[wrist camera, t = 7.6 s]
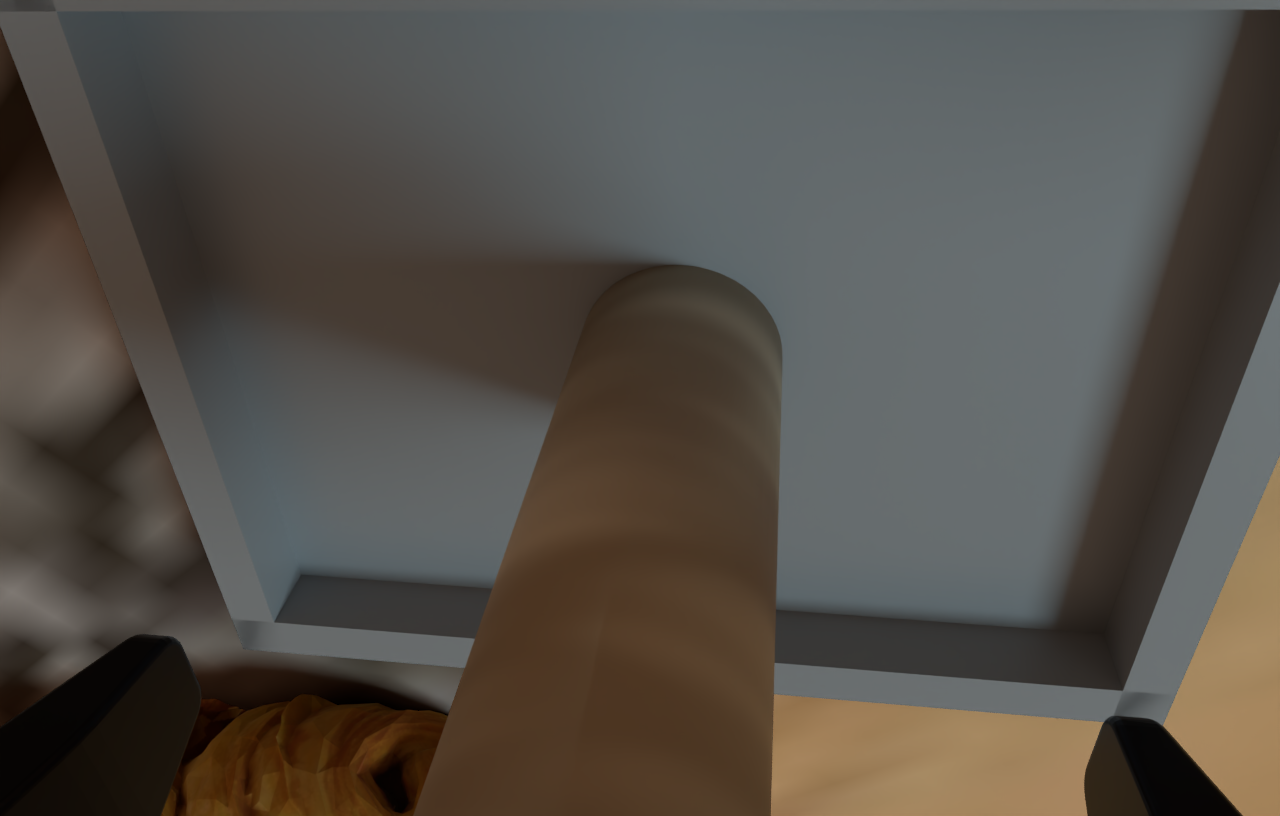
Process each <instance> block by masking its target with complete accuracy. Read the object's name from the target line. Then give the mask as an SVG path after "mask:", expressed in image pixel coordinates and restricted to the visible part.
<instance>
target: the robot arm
mask: <svg viewBox="0 0 1280 816" xmlns="http://www.w3.org/2000/svg"><path fill="white" fill-rule="evenodd" d="M200 705H201V689H200V685H199V683H198V681H197V678H196V676H195V674H194V672H193V669H192V667H191V665H190V663H189V660H188V658H187V656H186V654H185V652H184V649H183V647H182V645H181V644H180V642H179V641H178V640H177V639H175V638H174V637H170V636H159V635H148V634H140V635H135V636H133V637H130V638H128V639H127V640H125V641H124V642H122V643H121V644H119V645H118V646H116V647H115V648H114V649H112V650H111V651H109V652H108V653H106V654H105V655H103V656H102V657H101V658H99V659H98V660H96V661H95V662H93V663H92V664H90V665H89V666H88V667H86V668H85V669H83V670H82V671H80V672H79V673H78V674H76V675H75V676H73V677H72V678H70V679H69V680H67V681H66V682H65V683H63V684H62V685H60V686H59V687H57V688H56V689H54V690H53V691H52V692H50V693H49V694H47V695H46V696H44V697H43V698H41V699H40V700H39V701H37V702H36V703H34V704H33V705H31V706H30V707H29V708H27V709H26V710H24V711H23V712H21V713H20V714H18V715H17V716H16V717H14V718H13V719H11V720H10V721H8V722H7V723H5V724H4V725H3V726H1V727H0V816H161V815H162V812H163V809H164V807H165V804H166V801H167V798H168V796H169V793H170V790H171V787H172V785H173V782H174V779H175V777H176V774H177V771H178V768H179V766H180V763H181V760H182V757H183V755H184V752H185V749H186V746H187V744H188V741H189V738H190V736H191V733H192V730H193V727H194V725H195V722H196V719H197V716H198V713H199V710H200ZM1084 790H1085V800H1086V807H1087V814H1088V816H1243V815H1242V814H1241V813H1240V812H1239V811H1238V810H1237V809H1236V808H1235V806H1234V805H1233V804H1232V803H1231V802H1230V801H1229V800H1228V799H1227V797H1226V796H1225V795H1224V794H1223V793H1222V792H1221V791H1220V790H1219V788H1218V787H1217V786H1216V785H1215V784H1214V783H1213V782H1212V780H1211V779H1210V778H1209V777H1208V776H1207V775H1206V774H1205V773H1204V771H1203V770H1202V769H1201V768H1200V767H1199V766H1198V765H1197V764H1196V762H1195V761H1194V760H1193V759H1192V758H1191V757H1190V756H1189V755H1188V753H1187V752H1186V751H1185V750H1184V749H1183V748H1182V747H1181V746H1180V744H1179V743H1178V742H1177V741H1176V740H1175V739H1174V738H1173V737H1172V735H1171V734H1170V733H1169V732H1168V731H1167V730H1166V729H1165V728H1164V727H1163V726H1162V725H1161V724H1160V723H1158V722H1157V721H1155V720H1152V719H1148V718H1139V717H1127V716H1110V717H1109V718H1107V719H1106V720H1105V721H1104V723H1103V725H1102V727H1101V730H1100V733H1099V735H1098V738H1097V741H1096V743H1095V746H1094V749H1093V751H1092V754H1091V757H1090V759H1089V762H1088V765H1087V768H1086V772H1085V780H1084Z"/></svg>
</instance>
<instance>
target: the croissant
mask: <svg viewBox="0 0 1280 816" xmlns="http://www.w3.org/2000/svg"><path fill="white" fill-rule="evenodd" d="M238 708H239V707H235V706H232V705H228V704H225V703H223V702H221V701H220V700H218V699H201V705H200V710H199V713H198V716H197V719H196V722H195V725H194V727H193V730H192V733H191V736H190V738H189V741H188V744H187V746H186V749H185V752H184V755H183V757H182V760H181V763H180V766H179V768H178V771H177V774H176V777H175V779H174V782H173V785H172V787H171V790H170V793H169V796H168V798H167V801H166V804H165V807H164V809H163V812H162V815H161V816H413V815H414V812H415V809H416V806H417V804H418V801H419V798H420V795H421V792H422V789H423V786H424V783H425V781H426V778H427V775H428V772H429V769H430V766H431V763H432V761H433V758H434V755H435V752H436V749H437V746H438V743H439V740H440V738H441V735H442V732H443V729H444V726H445V723H446V720H447V717H448V716H446V715H444V714H441V713H438V712H434V711H430V710H425V711H414V710H394V709H392V708H389V707H387V706H384V705H381V704H379V703H367V704H346V705H336V704H334V703H332V702H329V701H327V700H325V699H323V698H321V697H319V696H317V695H312V694H311V695H306V694H301V695H299V696H297V697H295V698H294V699H293V700H292V701H291V702H289V701H285V702H279V703H274V704H268V705H263V706H260V707H257V708H254V709H251V710H248V711H246V710H244V709H238Z"/></svg>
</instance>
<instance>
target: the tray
mask: <svg viewBox="0 0 1280 816" xmlns="http://www.w3.org/2000/svg"><path fill="white" fill-rule="evenodd" d="M0 27H1V29H2V32H3V35H4V37H5V40H6V42H7V45H8V47H9V50H10V53H11V55H12V58H13V60H14V63H15V65H16V68H17V70H18V73H19V76H20V78H21V81H22V83H23V86H24V88H25V91H26V93H27V96H28V99H29V101H30V104H31V106H32V109H33V111H34V114H35V116H36V119H37V122H38V124H39V127H40V129H41V132H42V134H43V137H44V140H45V142H46V145H47V147H48V150H49V152H50V155H51V157H52V160H53V163H54V165H55V168H56V170H57V173H58V175H59V178H60V180H61V183H62V186H63V188H64V191H65V193H66V196H67V198H68V201H69V203H70V206H71V209H72V211H73V214H74V216H75V219H76V221H77V224H78V227H79V229H80V232H81V234H82V237H83V239H84V242H85V244H86V247H87V250H88V252H89V255H90V257H91V260H92V262H93V265H94V267H95V270H96V273H97V275H98V278H99V280H100V283H101V285H102V288H103V291H104V293H105V296H106V298H107V301H108V303H109V306H110V308H111V311H112V314H113V316H114V319H115V321H116V324H117V326H118V329H119V331H120V334H121V337H122V339H123V342H124V344H125V347H126V349H127V352H128V354H129V357H130V360H131V362H132V365H133V367H134V370H135V372H136V375H137V378H138V380H139V383H140V385H141V388H142V390H143V393H144V395H145V398H146V401H147V403H148V406H149V408H150V411H151V413H152V416H153V418H154V421H155V424H156V426H157V429H158V431H159V434H160V436H161V439H162V441H163V444H164V447H165V449H166V452H167V454H168V457H169V459H170V462H171V465H172V467H173V470H174V472H175V475H176V477H177V480H178V482H179V485H180V488H181V490H182V493H183V495H184V498H185V500H186V503H187V505H188V508H189V511H190V513H191V516H192V518H193V521H194V523H195V526H196V529H197V531H198V534H199V536H200V539H201V541H202V544H203V546H204V549H205V552H206V554H207V557H208V559H209V562H210V564H211V567H212V569H213V572H214V575H215V577H216V580H217V582H218V585H219V587H220V590H221V592H222V595H223V598H224V600H225V603H226V605H227V608H228V610H229V613H230V616H231V618H232V621H233V623H234V626H235V628H236V631H237V633H238V636H239V639H240V641H241V644H242V646H243V649H247V650H259V651H271V652H283V653H294V654H306V655H318V656H330V657H342V658H353V659H365V660H377V661H389V662H401V663H413V664H424V665H436V666H448V667H460V668H465V666H466V663H467V660H468V657H469V654H470V651H471V649H472V646H473V643H474V640H475V637H476V634H477V631H478V628H479V626H480V623H481V620H482V617H483V614H484V611H485V608H486V606H487V603H488V600H489V597H490V594H491V591H492V588H493V585H494V583H495V580H496V577H497V574H498V571H499V568H500V565H501V562H502V560H503V557H504V554H505V551H506V548H507V545H508V542H509V540H510V537H511V534H512V531H513V528H514V525H515V522H516V519H517V517H518V514H519V511H520V508H521V505H522V502H523V499H524V496H525V494H526V491H527V488H528V485H529V482H530V479H531V476H532V474H533V471H534V468H535V465H536V462H537V459H538V456H539V453H540V451H541V448H542V445H543V442H544V439H545V436H546V433H547V430H548V428H549V425H550V422H551V419H552V416H553V413H554V410H555V408H556V405H557V402H558V399H559V396H560V393H561V390H562V387H563V385H564V382H565V379H566V376H567V373H568V370H569V367H570V364H571V362H572V359H573V356H574V353H575V350H576V347H577V344H578V341H579V339H580V336H581V333H582V330H583V327H584V324H585V321H586V319H587V317H588V315H589V313H590V311H591V309H592V307H593V306H594V304H595V303H596V301H597V300H598V299H599V298H600V296H601V295H602V294H603V293H604V292H605V291H606V290H607V289H609V288H610V287H611V286H612V285H614V284H615V283H616V282H618V281H620V280H621V279H623V278H625V277H626V276H628V275H631V274H633V273H636V272H638V271H641V270H644V269H648V268H652V267H658V266H664V265H687V266H696V267H700V268H705V269H709V270H712V271H715V272H718V273H721V274H723V275H725V276H727V277H729V278H731V279H733V280H735V281H736V282H738V283H740V284H741V285H743V286H744V287H746V288H747V289H748V290H749V291H750V292H752V293H753V294H754V295H755V296H756V297H757V298H758V299H759V300H760V301H761V302H762V303H763V304H764V306H765V307H766V309H767V310H768V312H769V313H770V314H771V316H772V318H773V320H774V322H775V324H776V326H777V329H778V332H779V335H780V338H781V344H782V359H783V361H782V399H781V437H780V475H779V513H778V551H777V590H776V628H775V666H774V694H779V695H791V696H802V697H814V698H826V699H838V700H850V701H862V702H873V703H885V704H897V705H909V706H921V707H932V708H944V709H956V710H968V711H980V712H992V713H1003V714H1015V715H1027V716H1039V717H1051V718H1062V719H1074V720H1086V721H1098V722H1104V721H1105V720H1106V719H1107V718H1109V717H1110V716H1127V717H1139V718H1148V719H1152V720H1155V721H1157V722H1158V723H1160V724H1161V725H1162V726H1163V724H1164V722H1165V719H1166V717H1167V715H1168V712H1169V710H1170V708H1171V705H1172V703H1173V701H1174V698H1175V696H1176V694H1177V691H1178V689H1179V687H1180V685H1181V682H1182V680H1183V678H1184V675H1185V673H1186V671H1187V668H1188V666H1189V664H1190V661H1191V659H1192V657H1193V654H1194V652H1195V650H1196V648H1197V645H1198V643H1199V641H1200V638H1201V636H1202V634H1203V631H1204V629H1205V627H1206V624H1207V622H1208V620H1209V618H1210V615H1211V613H1212V611H1213V608H1214V606H1215V604H1216V601H1217V599H1218V597H1219V594H1220V592H1221V590H1222V587H1223V585H1224V583H1225V581H1226V578H1227V576H1228V574H1229V571H1230V569H1231V567H1232V564H1233V562H1234V560H1235V557H1236V555H1237V553H1238V550H1239V548H1240V546H1241V544H1242V541H1243V539H1244V537H1245V534H1246V532H1247V530H1248V527H1249V525H1250V523H1251V520H1252V518H1253V516H1254V514H1255V511H1256V509H1257V507H1258V504H1259V502H1260V500H1261V497H1262V495H1263V493H1264V490H1265V488H1266V486H1267V483H1268V481H1269V479H1270V477H1271V474H1272V472H1273V470H1274V467H1275V465H1276V463H1277V460H1278V458H1279V456H1280V0H0Z"/></svg>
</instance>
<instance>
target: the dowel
mask: <svg viewBox="0 0 1280 816" xmlns="http://www.w3.org/2000/svg"><path fill="white" fill-rule="evenodd" d="M782 361H783V359H782V344H781V338H780V335H779V332H778V329H777V326H776V324H775V322H774V320H773V318H772V316H771V314H770V313H769V312H768V310H767V309H766V307H765V306H764V304H763V303H762V302H761V301H760V300H759V299H758V298H757V297H756V296H755V295H754V294H753V293H752V292H750V291H749V290H748V289H747V288H746V287H744V286H743V285H741V284H740V283H738V282H736V281H735V280H733V279H731V278H729V277H727V276H725V275H723V274H721V273H718V272H715V271H712V270H709V269H705V268H700V267H696V266H687V265H664V266H658V267H652V268H648V269H644V270H641V271H638V272H636V273H633V274H631V275H628V276H626V277H625V278H623V279H621V280H620V281H618V282H616V283H615V284H614V285H612V286H611V287H610V288H609V289H607V290H606V291H605V292H604V293H603V294H602V295H601V296H600V298H599V299H598V300H597V301H596V303H595V304H594V306H593V307H592V309H591V311H590V313H589V315H588V317H587V319H586V321H585V324H584V327H583V330H582V333H581V336H580V339H579V341H578V344H577V347H576V350H575V353H574V356H573V359H572V362H571V364H570V367H569V370H568V373H567V376H566V379H565V382H564V385H563V387H562V390H561V393H560V396H559V399H558V402H557V405H556V408H555V410H554V413H553V416H552V419H551V422H550V425H549V428H548V430H547V433H546V436H545V439H544V442H543V445H542V448H541V451H540V453H539V456H538V459H537V462H536V465H535V468H534V471H533V474H532V476H531V479H530V482H529V485H528V488H527V491H526V494H525V496H524V499H523V502H522V505H521V508H520V511H519V514H518V517H517V519H516V522H515V525H514V528H513V531H512V534H511V537H510V540H509V542H508V545H507V548H506V551H505V554H504V557H503V560H502V562H501V565H500V568H499V571H498V574H497V577H496V580H495V583H494V585H493V588H492V591H491V594H490V597H489V600H488V603H487V606H486V608H485V611H484V614H483V617H482V620H481V623H480V626H479V628H478V631H477V634H476V637H475V640H474V643H473V646H472V649H471V651H470V654H469V657H468V660H467V663H466V666H465V669H464V672H463V674H462V677H461V680H460V683H459V686H458V689H457V692H456V695H455V697H454V700H453V703H452V706H451V709H450V712H449V715H448V717H447V720H446V723H445V726H444V729H443V732H442V735H441V738H440V740H439V743H438V746H437V749H436V752H435V755H434V758H433V761H432V763H431V766H430V769H429V772H428V775H427V778H426V781H425V783H424V786H423V789H422V792H421V795H420V798H419V801H418V804H417V806H416V809H415V812H414V815H413V816H771V780H772V742H773V704H774V666H775V628H776V590H777V551H778V513H779V475H780V437H781V399H782Z"/></svg>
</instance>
